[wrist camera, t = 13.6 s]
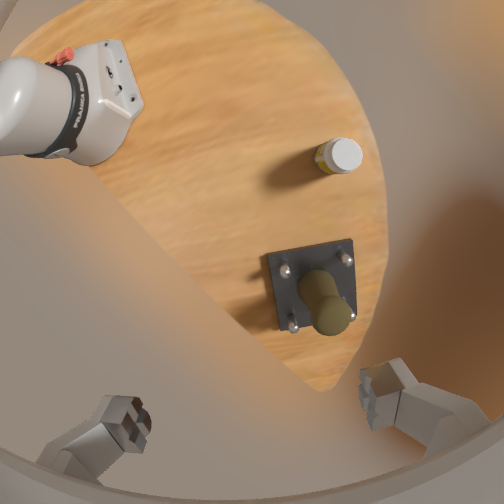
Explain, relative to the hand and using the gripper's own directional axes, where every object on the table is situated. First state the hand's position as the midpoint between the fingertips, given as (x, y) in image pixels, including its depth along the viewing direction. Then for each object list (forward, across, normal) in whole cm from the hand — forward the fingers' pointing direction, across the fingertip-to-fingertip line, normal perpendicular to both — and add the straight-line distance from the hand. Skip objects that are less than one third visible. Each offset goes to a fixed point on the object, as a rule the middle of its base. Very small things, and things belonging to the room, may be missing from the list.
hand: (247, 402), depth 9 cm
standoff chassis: (+34, -8, +11) cm, 37 cm away
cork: (+33, -8, +11) cm, 36 cm away
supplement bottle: (+34, -13, -8) cm, 38 cm away
